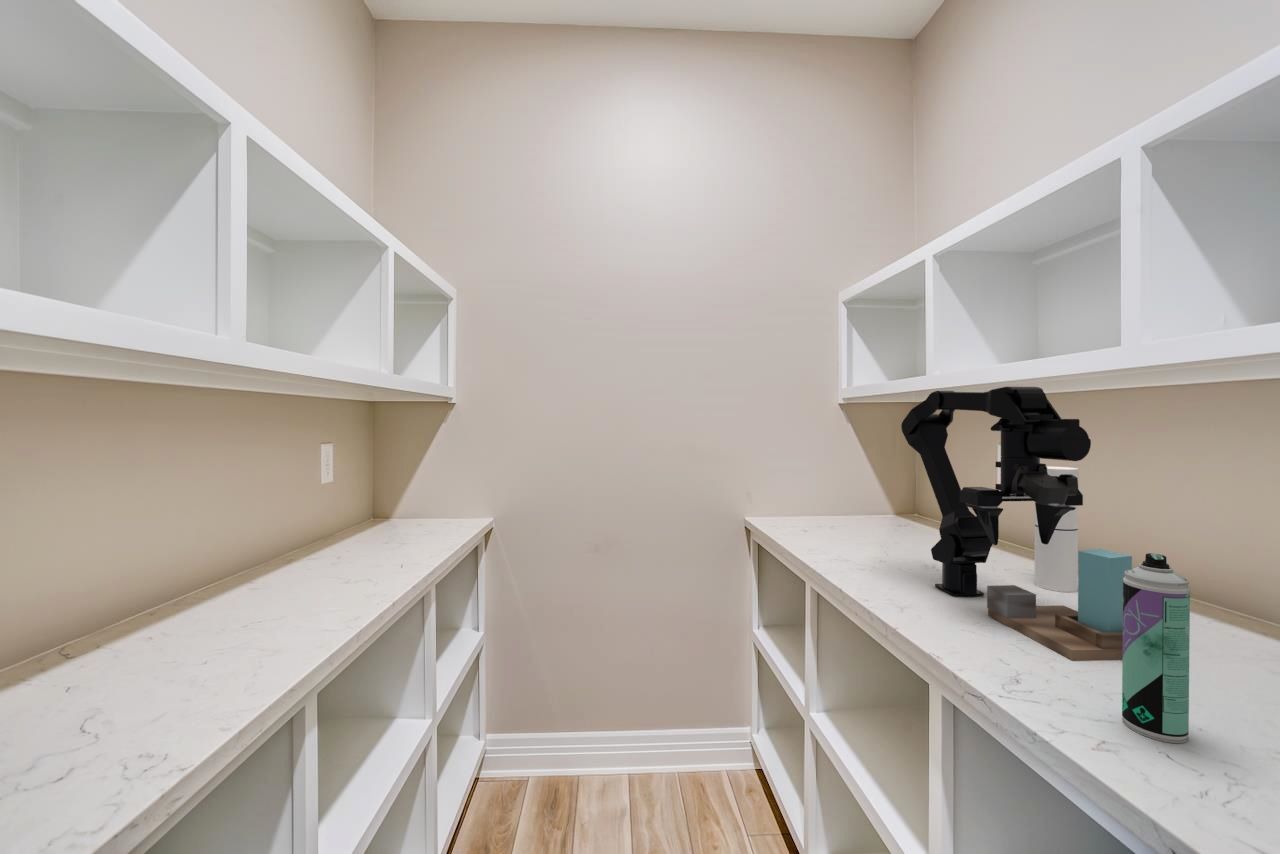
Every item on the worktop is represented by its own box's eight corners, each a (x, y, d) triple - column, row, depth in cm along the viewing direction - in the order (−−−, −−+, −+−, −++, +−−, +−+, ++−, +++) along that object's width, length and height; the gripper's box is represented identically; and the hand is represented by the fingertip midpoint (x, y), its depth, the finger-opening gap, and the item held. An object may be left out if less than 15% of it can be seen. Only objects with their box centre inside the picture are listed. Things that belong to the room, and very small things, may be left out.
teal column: (1077, 632, 84) (1078, 550, 84) (1099, 629, 86) (1099, 548, 85) (1109, 644, 80) (1109, 558, 80) (1131, 640, 81) (1132, 555, 81)
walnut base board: (985, 615, 96) (985, 584, 96) (1063, 613, 96) (1063, 583, 96) (1068, 660, 78) (1068, 623, 78) (1164, 658, 78) (1164, 621, 78)
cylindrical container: (1037, 589, 110) (1038, 468, 110) (1031, 579, 117) (1032, 465, 116) (1081, 594, 107) (1082, 470, 107) (1072, 584, 113) (1073, 467, 113)
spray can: (1153, 714, 64) (1155, 548, 63) (1203, 742, 58) (1205, 561, 58) (1109, 716, 64) (1110, 549, 63) (1155, 744, 58) (1156, 561, 58)
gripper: (1000, 461, 86) (1000, 556, 87) (1112, 460, 87) (1111, 555, 87) (957, 456, 98) (957, 541, 98) (1056, 455, 98) (1056, 539, 98)
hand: (1019, 544), depth 95 cm, fingers open, 9 cm apart
